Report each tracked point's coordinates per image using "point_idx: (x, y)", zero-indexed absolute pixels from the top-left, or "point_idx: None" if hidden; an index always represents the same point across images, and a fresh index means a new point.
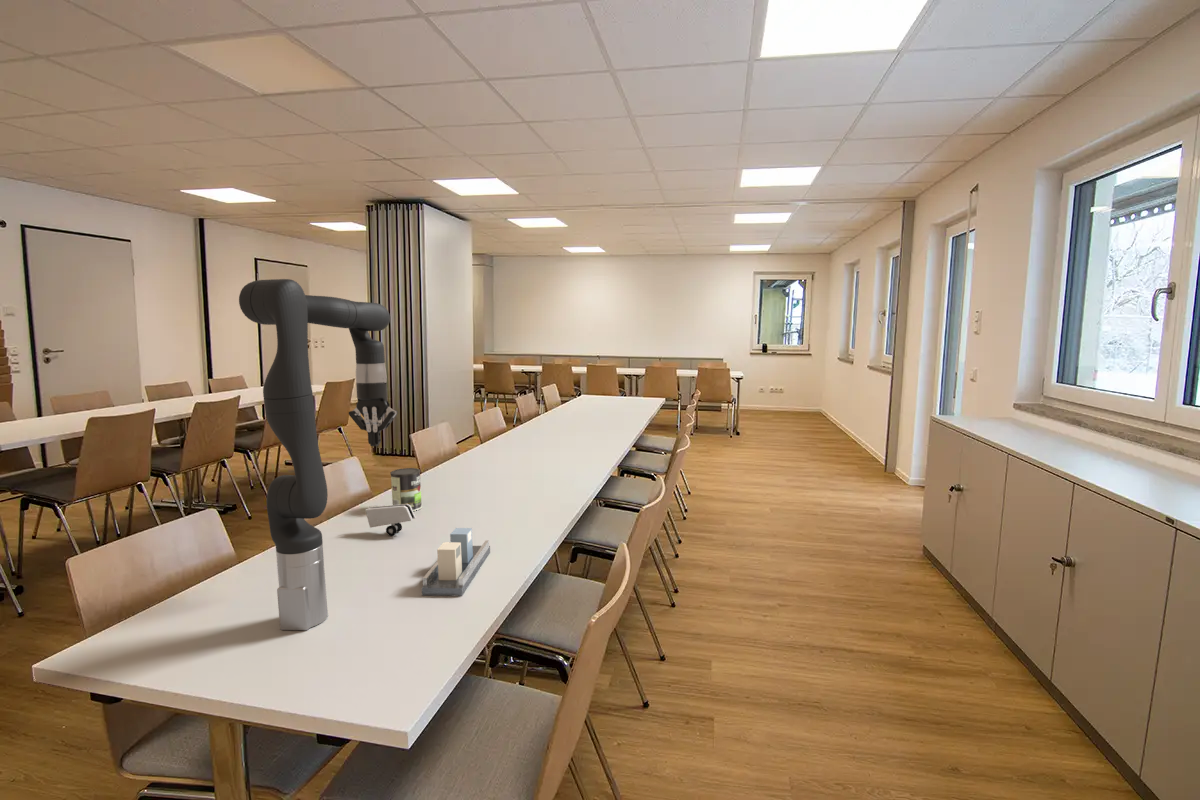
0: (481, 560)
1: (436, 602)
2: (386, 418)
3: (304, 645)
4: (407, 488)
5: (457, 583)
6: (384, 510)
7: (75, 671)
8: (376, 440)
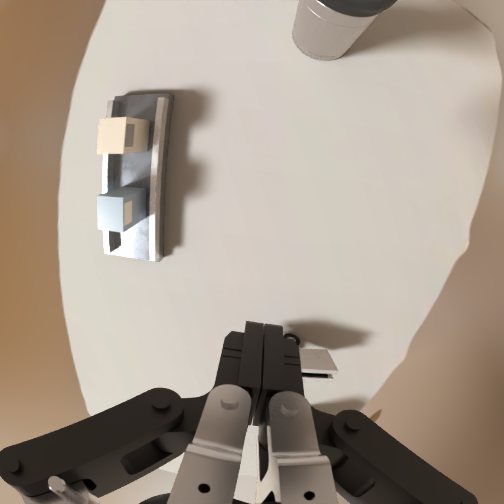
0: None
1: (149, 77)
2: (76, 456)
3: None
4: None
5: (122, 110)
6: (303, 365)
7: (474, 19)
8: (238, 347)
